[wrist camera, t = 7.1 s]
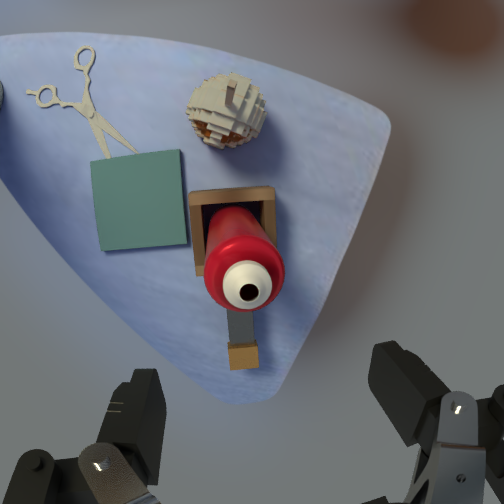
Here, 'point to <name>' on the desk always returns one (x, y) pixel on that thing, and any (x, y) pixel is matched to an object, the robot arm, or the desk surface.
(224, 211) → the bottle
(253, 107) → the caramel apple
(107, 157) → the scissors
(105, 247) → the coaster
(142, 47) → the desk surface
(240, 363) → the lever
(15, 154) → the desk surface
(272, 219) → the holder
